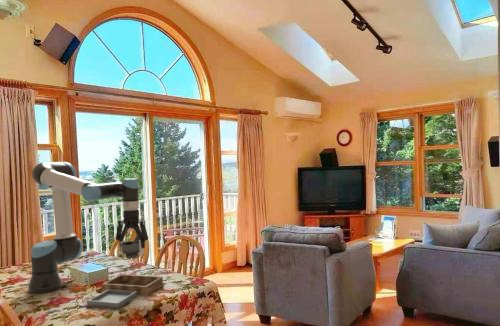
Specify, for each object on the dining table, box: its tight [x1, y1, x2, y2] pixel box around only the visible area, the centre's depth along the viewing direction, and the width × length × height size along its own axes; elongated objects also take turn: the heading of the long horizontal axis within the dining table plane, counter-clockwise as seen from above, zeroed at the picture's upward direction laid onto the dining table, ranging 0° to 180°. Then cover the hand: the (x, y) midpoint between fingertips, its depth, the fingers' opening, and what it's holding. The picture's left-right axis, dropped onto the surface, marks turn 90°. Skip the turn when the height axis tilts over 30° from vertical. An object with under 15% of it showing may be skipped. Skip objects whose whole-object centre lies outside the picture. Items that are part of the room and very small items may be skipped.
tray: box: [86, 289, 138, 310], centre depth 178 cm, size 16×16×3 cm
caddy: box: [101, 274, 164, 297], centre depth 195 cm, size 24×16×4 cm, turn 75°
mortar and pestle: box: [120, 234, 140, 260], centre depth 194 cm, size 11×9×12 cm
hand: (132, 254), depth 194 cm, fingers closed on mortar and pestle, 10 cm apart
